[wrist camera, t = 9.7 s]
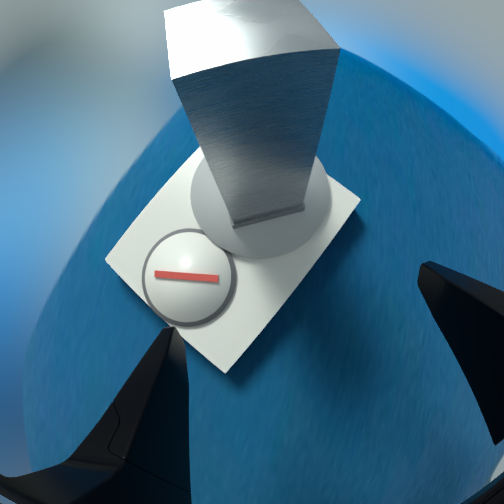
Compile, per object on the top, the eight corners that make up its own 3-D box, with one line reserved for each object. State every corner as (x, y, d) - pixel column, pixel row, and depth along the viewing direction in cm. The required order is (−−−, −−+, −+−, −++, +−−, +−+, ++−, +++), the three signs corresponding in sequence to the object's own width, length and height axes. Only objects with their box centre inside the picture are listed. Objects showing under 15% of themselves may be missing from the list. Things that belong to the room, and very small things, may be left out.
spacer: (304, 210, 18) (347, 51, 6) (233, 229, 19) (166, 84, 6) (283, 151, 20) (288, -14, 7) (218, 167, 20) (160, 10, 7)
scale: (359, 200, 21) (368, 188, 19) (229, 368, 19) (224, 375, 17) (240, 122, 23) (237, 105, 21) (116, 263, 21) (101, 258, 19)
